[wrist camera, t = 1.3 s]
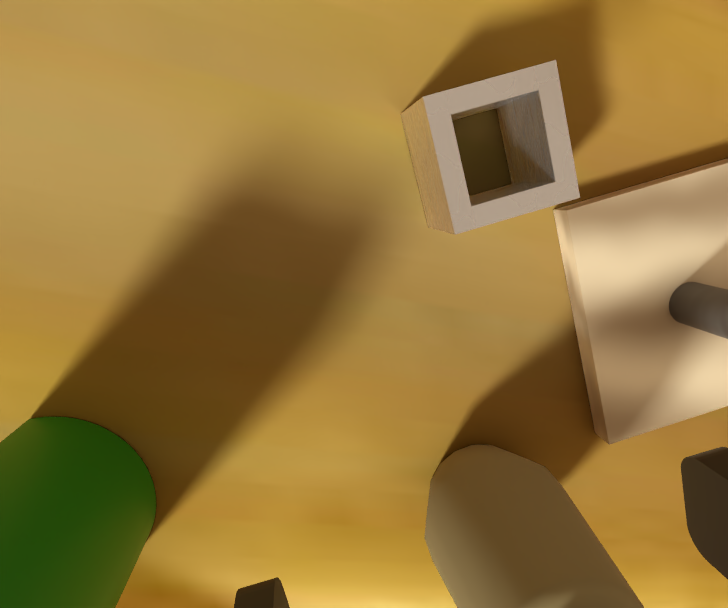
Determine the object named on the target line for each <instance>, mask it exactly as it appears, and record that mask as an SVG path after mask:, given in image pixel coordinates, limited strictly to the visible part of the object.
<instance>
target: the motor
mask: <svg viewBox="0 0 728 608" xmlns="http://www.w3.org/2000/svg"><path fill="white" fill-rule="evenodd" d="M155 514H156V494H155V488H154V484H153V481H152V478H151V475H150V473H149V471H148V469H147V467H146V465H145V464H144V462H143V461H142V459H141V458H140V456H139V455H138V454H137V453H136V452H135V451H134V449H133V448H132V447H131V446H130V445H128V444H127V443H126V442H125V441H124V440H123V439H121V438H120V437H118V436H117V435H116V434H114V433H112V432H111V431H109V430H107V429H105V428H103V427H101V426H99V425H96V424H93V423H91V422H87V421H84V420H80V419H75V418H69V417H39V418H33V419H29V420H27V421H26V422H25V423H24V424H23V425H21V426H20V427H19V428H18V429H16V430H15V431H14V432H13V433H11V434H10V435H9V436H8V437H7V438H5V439H4V440H3V441H2V442H0V608H115V607H116V605H117V603H118V601H119V598H120V596H121V594H122V592H123V590H124V588H125V586H126V583H127V581H128V579H129V577H130V575H131V573H132V570H133V568H134V566H135V564H136V562H137V560H138V557H139V555H140V553H141V551H142V549H143V547H144V545H145V542H146V540H147V538H148V536H149V534H150V531H151V529H152V526H153V523H154V519H155Z"/></svg>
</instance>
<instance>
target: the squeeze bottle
mask: <svg viewBox="0 0 728 608" xmlns="http://www.w3.org/2000/svg"><path fill="white" fill-rule="evenodd" d="M425 540H426V543H427V546H428V549H429V552H430V554H431V557H432V560H433V562H434V564H435V566H436V568H437V570H438V572H439V574H440V576H441V577H442V579H443V581H444V583H445V585H446V587H447V589H448V591H449V593H450V594H451V596H452V598H453V600H454V602H455V604H456V606H457V608H644V607H643V605H642V603H641V602H640V600H639V599H638V597H637V596H636V595H635V593H634V592H633V590H632V589H631V587H630V586H629V584H628V583H627V581H626V580H625V578H624V577H623V575H622V574H621V572H620V571H619V569H618V568H617V566H616V565H615V563H614V562H613V561H612V559H611V558H610V556H609V555H608V553H607V552H606V550H605V549H604V547H603V546H602V544H601V543H600V541H599V540H598V538H597V537H596V535H595V534H594V532H593V531H592V530H591V528H590V527H589V525H588V524H587V522H586V521H585V519H584V518H583V516H582V515H581V513H580V512H579V510H578V509H577V507H576V506H575V504H574V503H573V501H572V500H571V499H570V497H569V496H568V494H567V493H566V491H565V490H564V488H563V487H562V485H561V484H560V483H559V482H558V481H557V480H556V478H555V477H554V476H553V475H552V474H551V473H550V472H549V471H548V469H547V468H546V467H545V466H543V465H540V464H538V463H536V462H533V461H531V460H528V459H526V458H524V457H521V456H519V455H516V454H514V453H511V452H509V451H506V450H503V449H501V448H498V447H496V446H493V445H470V446H468V447H465V448H462V449H460V450H457V451H454V452H453V453H452V454H451V455H450V456H449V457H447V458H446V459H445V460H444V461H443V462H442V463H440V465H439V466H438V468H437V470H436V472H435V474H434V476H433V478H432V479H431V484H430V492H429V500H428V509H427V518H426V528H425Z"/></svg>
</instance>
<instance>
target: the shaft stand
mask: <svg viewBox="0 0 728 608" xmlns="http://www.w3.org/2000/svg"><path fill="white" fill-rule="evenodd" d="M553 211H554V217H555V222H556V227H557V232H558V238H559V243H560V248H561V254H562V259H563V264H564V270H565V275H566V280H567V286H568V291H569V296H570V302H571V307H572V312H573V318H574V323H575V328H576V333H577V339H578V344H579V349H580V355H581V360H582V365H583V371H584V376H585V381H586V387H587V392H588V397H589V403H590V408H591V413H592V419H593V424H594V429H595V433H596V434H597V435H598V436H599V437H601V438H602V439H603V440H604V441H606V442H607V443H608V444H612V443H615V442H618V441H621V440H624V439H627V438H631V437H634V436H637V435H640V434H643V433H646V432H649V431H652V430H655V429H658V428H661V427H664V426H667V425H670V424H674V423H677V422H680V421H683V420H686V419H689V418H692V417H695V416H698V415H701V414H704V413H707V412H710V411H714V410H717V409H720V408H723V407H726V406H728V158H727V159H723V160H720V161H716V162H713V163H710V164H706V165H703V166H700V167H696V168H693V169H689V170H686V171H683V172H679V173H676V174H672V175H669V176H666V177H662V178H659V179H655V180H652V181H649V182H645V183H642V184H639V185H635V186H632V187H628V188H625V189H622V190H618V191H615V192H611V193H608V194H605V195H601V196H598V197H595V198H591V199H588V200H584V201H581V202H578V203H574V204H571V205H567V206H564V207H561V208H557V209H554V210H553Z"/></svg>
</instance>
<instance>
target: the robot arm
mask: <svg viewBox="0 0 728 608" xmlns="http://www.w3.org/2000/svg"><path fill="white" fill-rule="evenodd" d="M681 473H682V482H683V491H684V500H685V509H686V518H687V526H688V530H689V533H690V536H691V538H692V540H693V542H694V544H695V546H696V547H697V549H698V550H699V552H700V553H701V554H702V556H703V557H704V558H705V559H706V560H707V561H708V562H709V563H710V564H711V565H712V566H714V567H715V568H716V569H717V570H718V571H719V572H720V573H721V574H722V575H724V576H725V577H726V578H727V579H728V448H726V447H720V448H716V449H713V450H709V451H706V452H703V453H699V454H696V455H693V456H689V457H686V458H684V459H683V461H682V463H681ZM234 608H290V607H289V604H288V601H287V598H286V595H285V592H284V589H283V586H282V583H281V581H280V579H279V578H274V579H270V580H267V581H264V582H260V583H257V584H254V585H250V586H247V587H243V588H240V589H238V591H237V593H236V598H235V604H234Z"/></svg>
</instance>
